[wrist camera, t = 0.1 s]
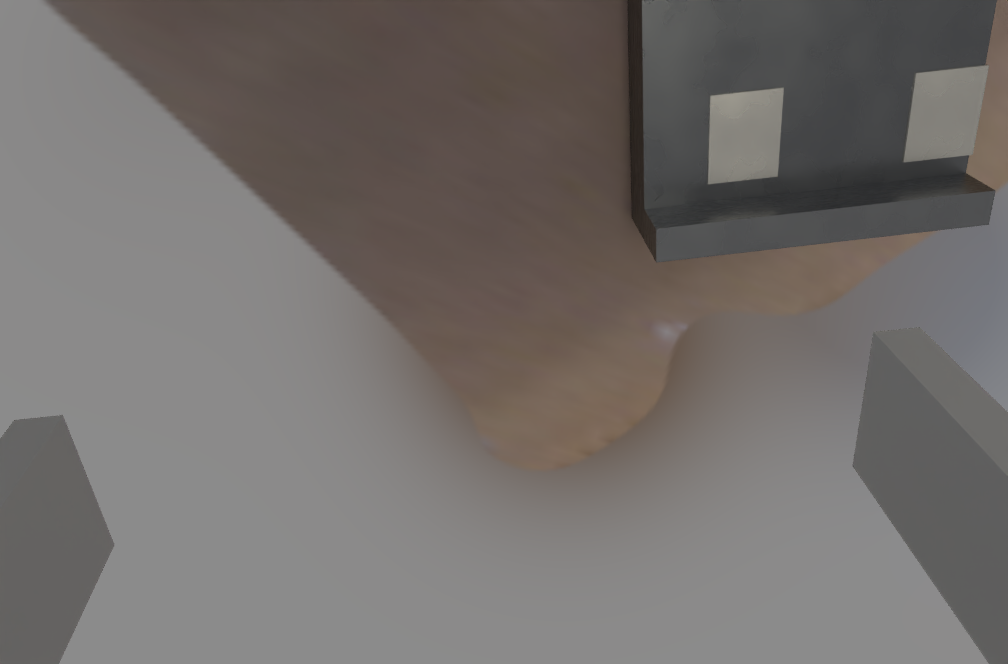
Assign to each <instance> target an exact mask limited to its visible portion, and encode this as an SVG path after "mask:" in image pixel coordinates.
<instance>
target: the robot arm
mask: <svg viewBox="0 0 1008 664" xmlns="http://www.w3.org/2000/svg"><path fill="white" fill-rule="evenodd" d="M853 467H854V469H855V470H856V472H857V473H858V475H859V476H860V478H861V479H862V480H863V482H864V483H865V485H866V486H867V488H868V489H869V491H870V492H871V493H872V495H873V496H874V498H875V499H876V501H877V502H878V504H879V505H880V507H881V508H882V509H883V511H884V512H885V514H886V515H887V517H888V518H889V520H890V521H891V522H892V524H893V525H894V527H895V528H896V530H897V531H898V533H899V534H900V535H901V537H902V538H903V540H904V541H905V543H906V544H907V545H908V547H909V549H910V550H911V551H912V553H913V554H914V556H915V557H916V559H917V560H918V562H919V563H920V564H921V566H922V567H923V569H924V570H925V572H926V573H927V575H928V576H929V577H930V579H931V580H932V582H933V583H934V585H935V586H936V587H937V589H938V590H939V592H940V593H941V595H942V596H943V598H944V599H945V601H946V602H947V603H948V605H949V606H950V608H951V609H952V611H953V612H954V614H955V615H956V617H957V618H958V619H959V621H960V622H961V624H962V625H963V627H964V628H965V630H966V631H967V632H968V634H969V635H970V637H971V638H972V640H973V641H974V643H975V644H976V646H977V647H978V648H979V650H980V651H981V653H982V654H983V656H984V657H985V659H986V660H987V662H988V663H989V664H1008V412H1007V411H1006V410H1005V409H1004V408H1003V407H1002V406H1001V405H1000V404H999V403H998V402H997V401H996V400H994V399H993V398H992V397H991V396H990V395H989V394H988V393H987V392H986V391H985V390H984V389H983V388H982V387H981V386H980V385H979V384H978V383H977V382H976V381H975V380H974V379H973V378H972V377H971V376H970V375H968V373H966V372H965V371H964V370H963V369H962V368H961V367H960V366H959V365H958V364H957V363H956V362H955V361H954V360H953V359H952V358H951V357H950V356H949V355H948V354H947V353H946V352H945V351H944V350H943V349H942V348H940V347H939V346H938V345H937V344H936V343H935V342H934V341H933V340H932V339H931V338H930V337H929V336H928V335H927V334H926V333H925V332H924V331H923V330H922V329H921V328H909V329H899V330H888V331H879V332H874V333H873V338H872V344H871V351H870V357H869V364H868V370H867V377H866V383H865V390H864V396H863V402H862V409H861V416H860V422H859V428H858V435H857V441H856V448H855V454H854V461H853ZM113 547H114V543H113V540H112V538H111V535H110V533H109V530H108V528H107V525H106V522H105V520H104V517H103V515H102V513H101V510H100V508H99V505H98V502H97V500H96V497H95V495H94V492H93V490H92V487H91V485H90V482H89V480H88V477H87V475H86V472H85V470H84V467H83V465H82V462H81V460H80V457H79V455H78V452H77V450H76V447H75V445H74V442H73V440H72V437H71V435H70V432H69V430H68V427H67V425H66V422H65V420H64V417H63V415H60V416H50V417H40V418H30V419H21V420H14V421H13V422H12V424H11V425H10V426H9V428H8V429H7V430H6V432H5V433H4V435H3V436H2V437H1V438H0V664H59V662H60V660H61V658H62V656H63V654H64V651H65V649H66V647H67V645H68V643H69V641H70V639H71V636H72V634H73V632H74V630H75V628H76V626H77V624H78V621H79V619H80V617H81V615H82V613H83V611H84V609H85V607H86V604H87V602H88V600H89V598H90V596H91V594H92V592H93V589H94V587H95V585H96V583H97V581H98V579H99V576H100V574H101V572H102V570H103V568H104V566H105V564H106V562H107V560H108V557H109V555H110V553H111V551H112V549H113Z"/></svg>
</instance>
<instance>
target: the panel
mask: <svg viewBox="0 0 1008 664" xmlns="http://www.w3.org/2000/svg"><path fill="white" fill-rule="evenodd" d="M996 2H997V0H628V46H629V98H630V150H631V202H632V219H633V221H634V223H635V225H636V226H637V228H638V230H639V232H640V234H641V235H642V237H643V239H644V241H645V243H646V244H647V246H648V248H649V250H650V252H651V254H652V255H653V257H654V259H655V261H656V262H664V261H673V260H681V259H690V258H699V257H708V256H717V255H725V254H734V253H743V252H752V251H761V250H769V249H778V248H787V247H796V246H805V245H813V244H822V243H831V242H840V241H849V240H857V239H866V238H875V237H884V236H893V235H901V234H910V233H919V232H928V231H937V230H945V229H954V228H962V227H971V226H980V225H988V224H989V220H990V215H991V210H992V205H993V200H994V195H995V190H994V189H992V188H990V187H988V186H987V185H985V184H983V183H982V182H980V181H978V180H977V179H975V178H973V177H971V176H970V175H968V174H966V168H967V163H968V157H969V155H973V150H974V145H975V139H976V134H977V128H978V123H979V117H980V112H981V106H982V101H983V95H984V90H985V84H986V79H987V73H988V68H989V65H985V63H986V57H987V52H988V46H989V41H990V35H991V29H992V24H993V18H994V13H995V7H996Z"/></svg>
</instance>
